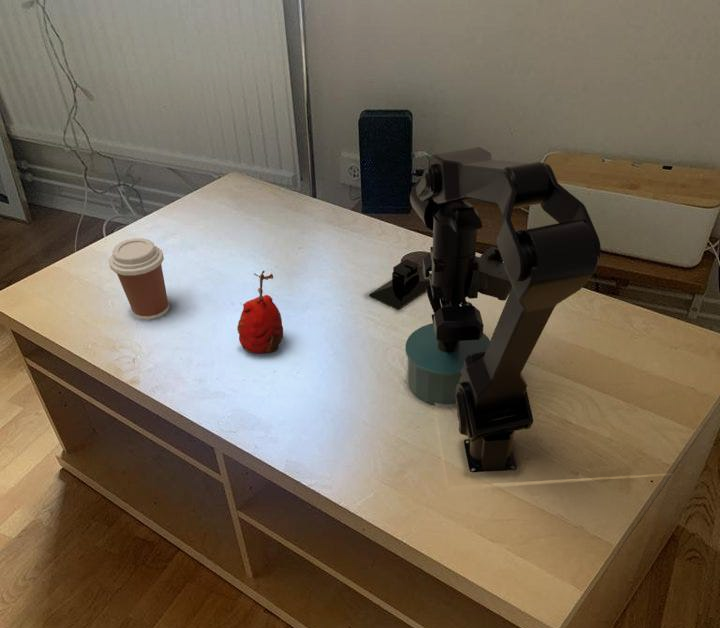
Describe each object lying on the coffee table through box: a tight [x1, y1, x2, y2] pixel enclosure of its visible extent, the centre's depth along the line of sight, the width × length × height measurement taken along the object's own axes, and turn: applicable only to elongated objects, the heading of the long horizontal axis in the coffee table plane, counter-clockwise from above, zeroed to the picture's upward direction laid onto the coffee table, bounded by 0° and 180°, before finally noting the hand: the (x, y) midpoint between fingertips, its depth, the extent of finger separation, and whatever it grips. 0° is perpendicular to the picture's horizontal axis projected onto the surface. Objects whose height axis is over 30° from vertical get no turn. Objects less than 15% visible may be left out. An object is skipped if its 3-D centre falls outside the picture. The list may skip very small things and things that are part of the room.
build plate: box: [368, 258, 431, 311], centre depth 129 cm, size 12×7×5 cm, turn 137°
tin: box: [407, 358, 461, 406], centre depth 110 cm, size 12×12×6 cm
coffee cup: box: [108, 237, 170, 320], centre depth 125 cm, size 9×9×12 cm
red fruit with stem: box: [236, 270, 284, 355], centre depth 115 cm, size 8×7×15 cm
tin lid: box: [404, 322, 491, 376], centre depth 106 cm, size 13×13×6 cm
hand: (448, 344), depth 107 cm, fingers closed on tin lid, 3 cm apart
